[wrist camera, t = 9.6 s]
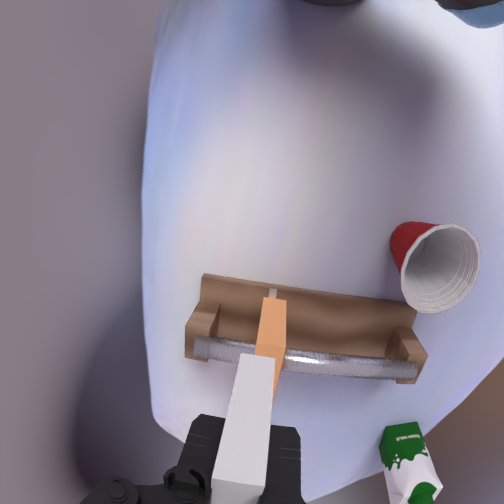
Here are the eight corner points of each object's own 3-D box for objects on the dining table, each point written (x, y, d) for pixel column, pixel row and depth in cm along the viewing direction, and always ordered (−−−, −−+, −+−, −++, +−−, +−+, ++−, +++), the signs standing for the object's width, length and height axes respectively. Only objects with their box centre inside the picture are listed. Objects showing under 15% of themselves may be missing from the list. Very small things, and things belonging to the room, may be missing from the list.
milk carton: (422, 417, 50) (450, 493, 31) (410, 444, 53) (431, 515, 34) (382, 423, 51) (403, 505, 32) (373, 450, 54) (388, 526, 35)
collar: (263, 296, 42) (256, 342, 31) (286, 300, 42) (285, 346, 31) (252, 362, 45) (244, 415, 35) (273, 365, 45) (268, 418, 34)
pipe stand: (204, 273, 45) (186, 300, 37) (415, 303, 44) (437, 333, 35) (199, 342, 49) (184, 377, 41) (391, 366, 47) (405, 401, 39)
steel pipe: (200, 325, 40) (193, 340, 36) (413, 352, 38) (421, 367, 35) (199, 347, 41) (192, 363, 37) (404, 372, 39) (411, 387, 36)
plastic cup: (383, 289, 44) (410, 331, 32) (363, 221, 41) (390, 245, 30) (446, 263, 41) (486, 295, 30) (430, 194, 39) (475, 209, 27)
